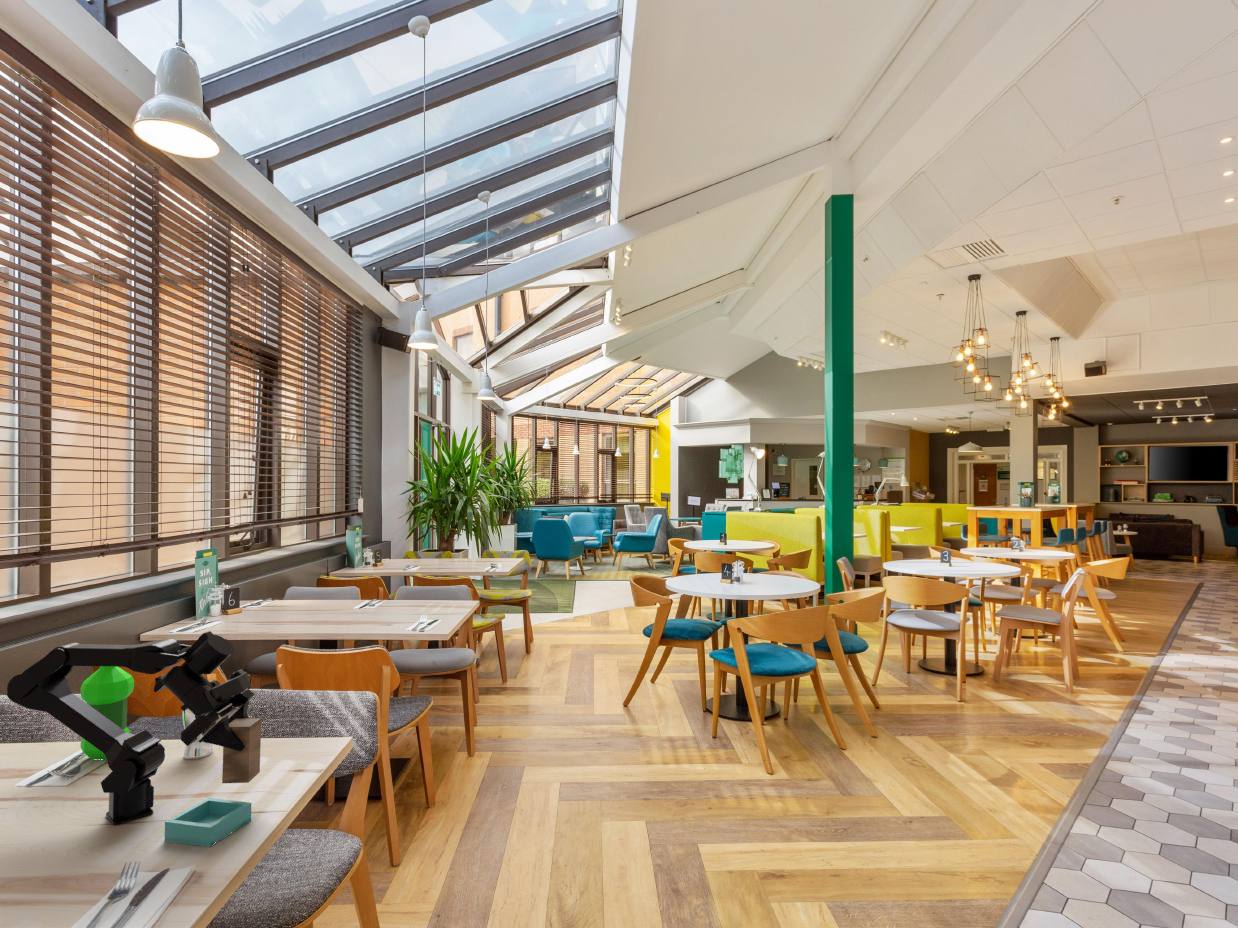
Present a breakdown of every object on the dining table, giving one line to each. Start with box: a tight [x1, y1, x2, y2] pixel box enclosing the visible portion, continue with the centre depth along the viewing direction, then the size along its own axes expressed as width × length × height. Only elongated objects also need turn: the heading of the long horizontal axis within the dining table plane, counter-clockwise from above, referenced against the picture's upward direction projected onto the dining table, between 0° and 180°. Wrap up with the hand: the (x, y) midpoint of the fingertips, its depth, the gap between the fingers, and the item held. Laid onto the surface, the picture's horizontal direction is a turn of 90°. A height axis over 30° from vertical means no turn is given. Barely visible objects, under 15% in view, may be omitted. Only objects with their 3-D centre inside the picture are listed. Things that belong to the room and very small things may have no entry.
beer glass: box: [182, 703, 214, 760], centre depth 166 cm, size 7×7×15 cm
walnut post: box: [221, 717, 262, 784], centre depth 137 cm, size 5×5×11 cm
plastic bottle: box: [79, 666, 135, 760], centre depth 165 cm, size 10×10×25 cm
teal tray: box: [163, 797, 252, 847], centre depth 129 cm, size 10×10×4 cm
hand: (249, 744), depth 137 cm, fingers closed on walnut post, 5 cm apart
